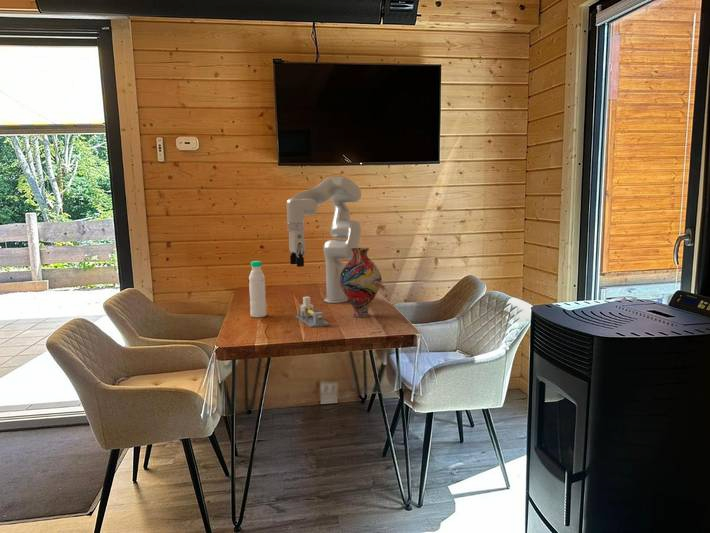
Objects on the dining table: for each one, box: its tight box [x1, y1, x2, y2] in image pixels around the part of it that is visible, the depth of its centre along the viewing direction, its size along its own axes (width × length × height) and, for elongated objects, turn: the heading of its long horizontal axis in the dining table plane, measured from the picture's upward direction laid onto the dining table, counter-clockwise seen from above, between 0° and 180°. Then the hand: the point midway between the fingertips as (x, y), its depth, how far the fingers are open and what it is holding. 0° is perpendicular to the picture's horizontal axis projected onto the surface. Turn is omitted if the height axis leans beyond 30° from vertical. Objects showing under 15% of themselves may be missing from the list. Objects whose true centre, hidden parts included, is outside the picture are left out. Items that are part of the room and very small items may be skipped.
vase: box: [339, 247, 383, 318], centre depth 213 cm, size 19×19×30 cm
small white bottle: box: [300, 296, 315, 317], centre depth 211 cm, size 4×5×8 cm
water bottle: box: [248, 260, 267, 318], centre depth 216 cm, size 7×7×25 cm
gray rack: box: [295, 306, 330, 328], centre depth 206 cm, size 20×8×5 cm, turn 25°
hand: (297, 265), depth 216 cm, fingers open, 9 cm apart
